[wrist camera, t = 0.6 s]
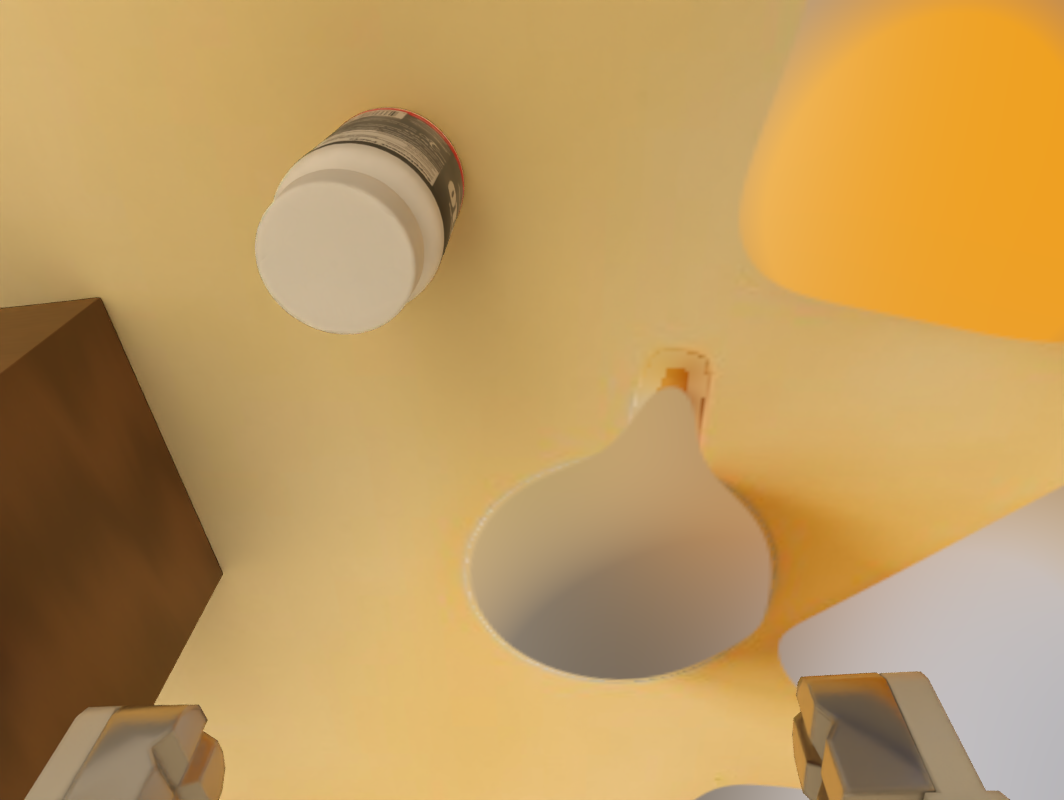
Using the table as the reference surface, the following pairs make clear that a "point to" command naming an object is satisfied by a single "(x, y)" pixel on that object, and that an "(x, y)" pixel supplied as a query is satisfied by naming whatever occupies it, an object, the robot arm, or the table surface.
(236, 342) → the table surface
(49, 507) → the riser
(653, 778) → the table surface
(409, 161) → the pill bottle
